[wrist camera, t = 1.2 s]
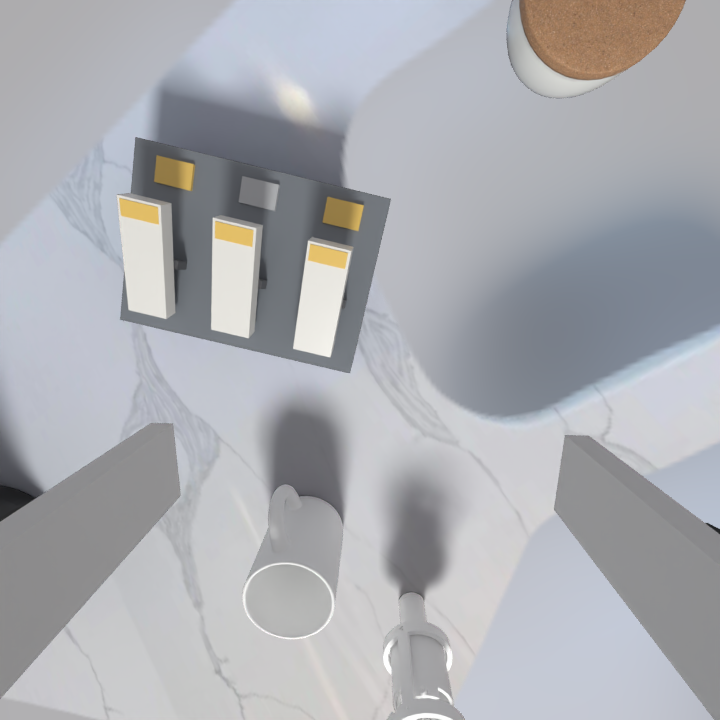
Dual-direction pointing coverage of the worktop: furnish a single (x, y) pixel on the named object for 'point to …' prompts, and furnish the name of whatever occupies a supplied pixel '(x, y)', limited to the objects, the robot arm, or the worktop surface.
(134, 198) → the switch
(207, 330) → the switch unit
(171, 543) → the worktop surface
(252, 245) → the switch
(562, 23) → the lidded jar
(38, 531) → the robot arm
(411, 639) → the white plastic fitting
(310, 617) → the mug
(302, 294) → the switch
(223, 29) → the worktop surface
